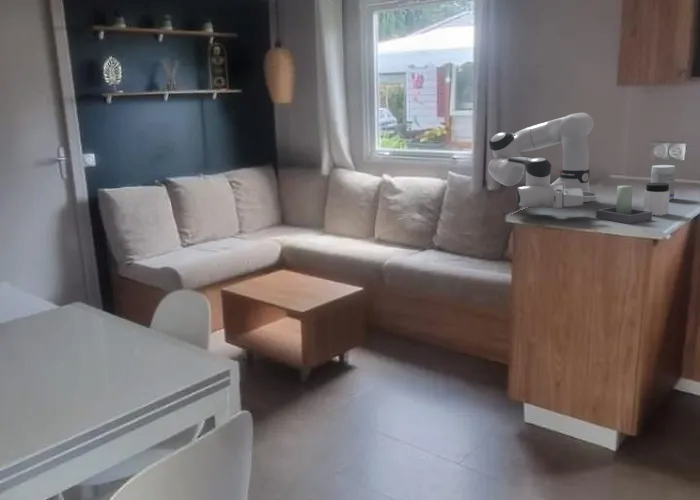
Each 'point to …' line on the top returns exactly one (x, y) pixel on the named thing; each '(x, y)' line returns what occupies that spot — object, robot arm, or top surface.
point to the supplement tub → (664, 176)
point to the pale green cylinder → (624, 200)
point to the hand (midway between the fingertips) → (595, 196)
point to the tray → (623, 215)
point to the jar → (657, 198)
